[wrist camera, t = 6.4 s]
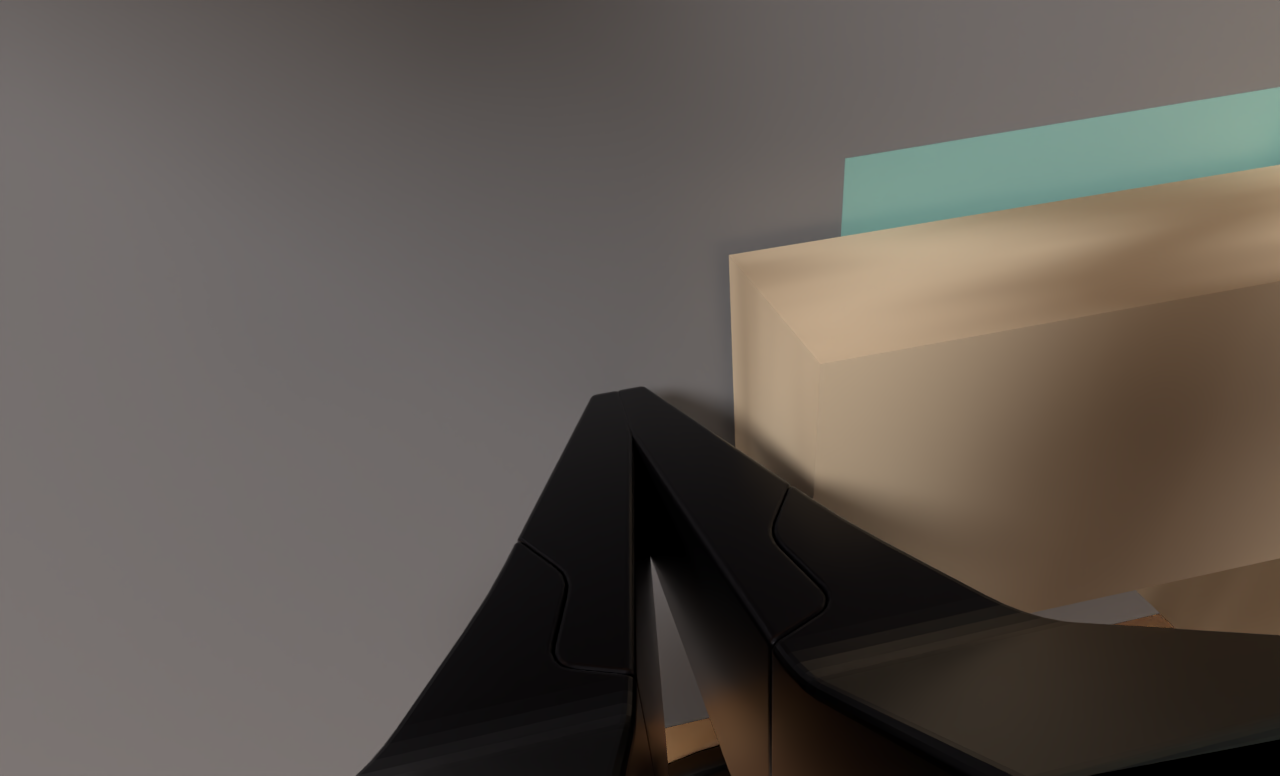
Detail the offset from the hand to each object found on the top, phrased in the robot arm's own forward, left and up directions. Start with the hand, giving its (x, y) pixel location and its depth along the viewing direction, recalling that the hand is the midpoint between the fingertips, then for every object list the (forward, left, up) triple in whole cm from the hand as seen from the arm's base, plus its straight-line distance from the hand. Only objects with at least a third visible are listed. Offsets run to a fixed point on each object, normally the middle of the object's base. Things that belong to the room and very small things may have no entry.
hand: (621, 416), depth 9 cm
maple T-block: (-8, 0, -1) cm, 8 cm away
